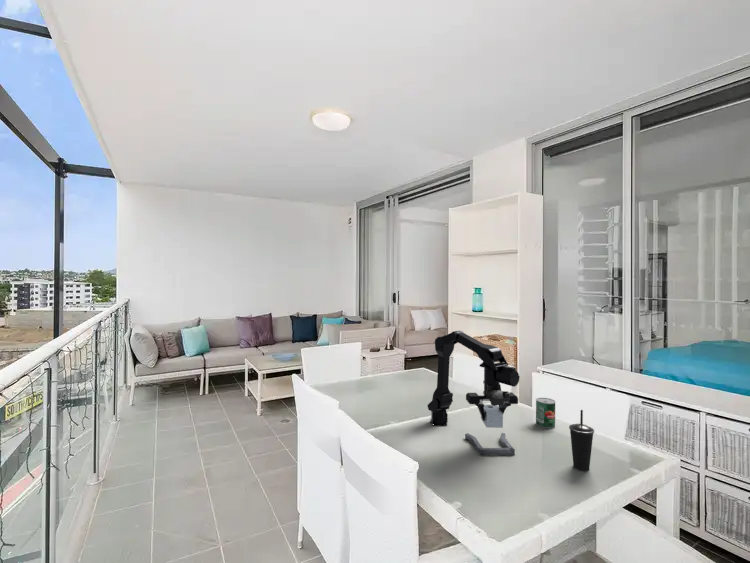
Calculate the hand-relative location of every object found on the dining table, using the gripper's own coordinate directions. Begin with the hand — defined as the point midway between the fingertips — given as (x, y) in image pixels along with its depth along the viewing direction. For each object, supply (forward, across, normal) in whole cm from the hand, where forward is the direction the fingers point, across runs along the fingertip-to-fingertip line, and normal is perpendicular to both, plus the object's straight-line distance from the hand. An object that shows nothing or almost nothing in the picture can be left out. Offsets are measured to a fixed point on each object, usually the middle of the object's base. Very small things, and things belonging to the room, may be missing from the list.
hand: (491, 420), depth 147 cm
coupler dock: (+10, 0, 0) cm, 11 cm away
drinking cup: (+11, +26, -16) cm, 32 cm away
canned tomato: (+11, +31, +21) cm, 39 cm away
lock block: (+1, 0, 0) cm, 1 cm away
